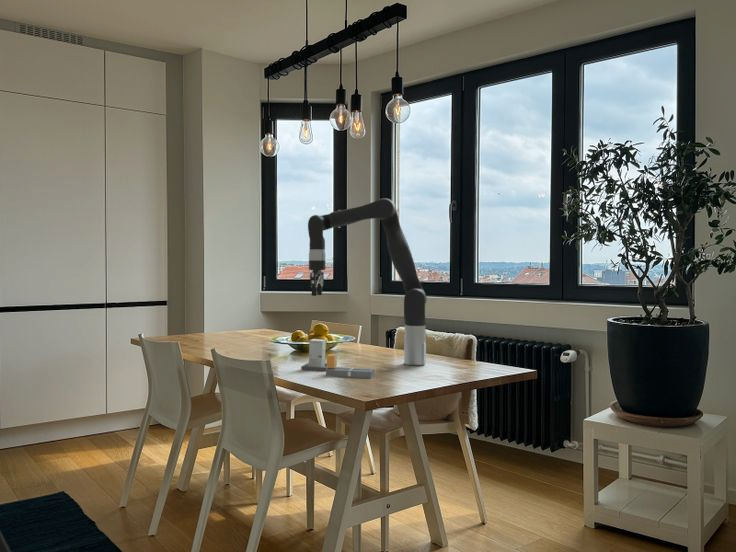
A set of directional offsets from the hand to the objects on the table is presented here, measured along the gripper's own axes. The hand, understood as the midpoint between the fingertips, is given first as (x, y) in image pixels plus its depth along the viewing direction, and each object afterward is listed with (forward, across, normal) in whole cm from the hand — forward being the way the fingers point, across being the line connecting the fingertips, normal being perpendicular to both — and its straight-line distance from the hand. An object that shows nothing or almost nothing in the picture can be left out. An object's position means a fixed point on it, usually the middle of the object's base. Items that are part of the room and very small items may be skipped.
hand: (316, 295), depth 295 cm
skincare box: (+30, -23, -7) cm, 38 cm away
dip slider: (+27, -35, -16) cm, 47 cm away
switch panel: (+29, -35, -24) cm, 51 cm away
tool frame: (+29, -23, -7) cm, 38 cm away
